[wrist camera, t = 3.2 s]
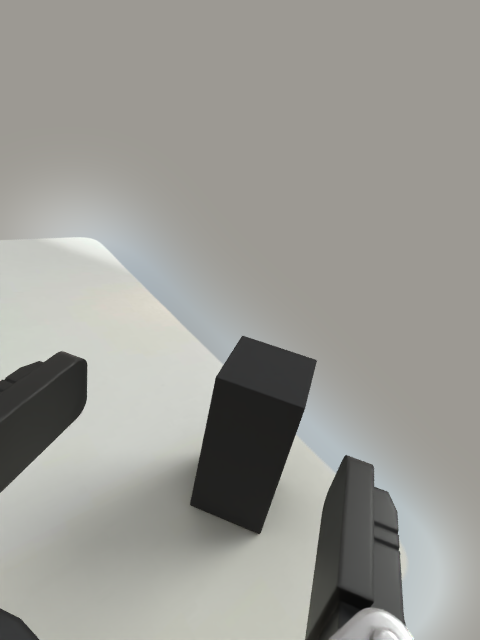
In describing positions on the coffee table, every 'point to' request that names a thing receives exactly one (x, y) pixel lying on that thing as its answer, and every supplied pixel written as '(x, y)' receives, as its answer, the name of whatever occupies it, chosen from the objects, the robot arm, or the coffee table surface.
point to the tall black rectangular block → (250, 431)
